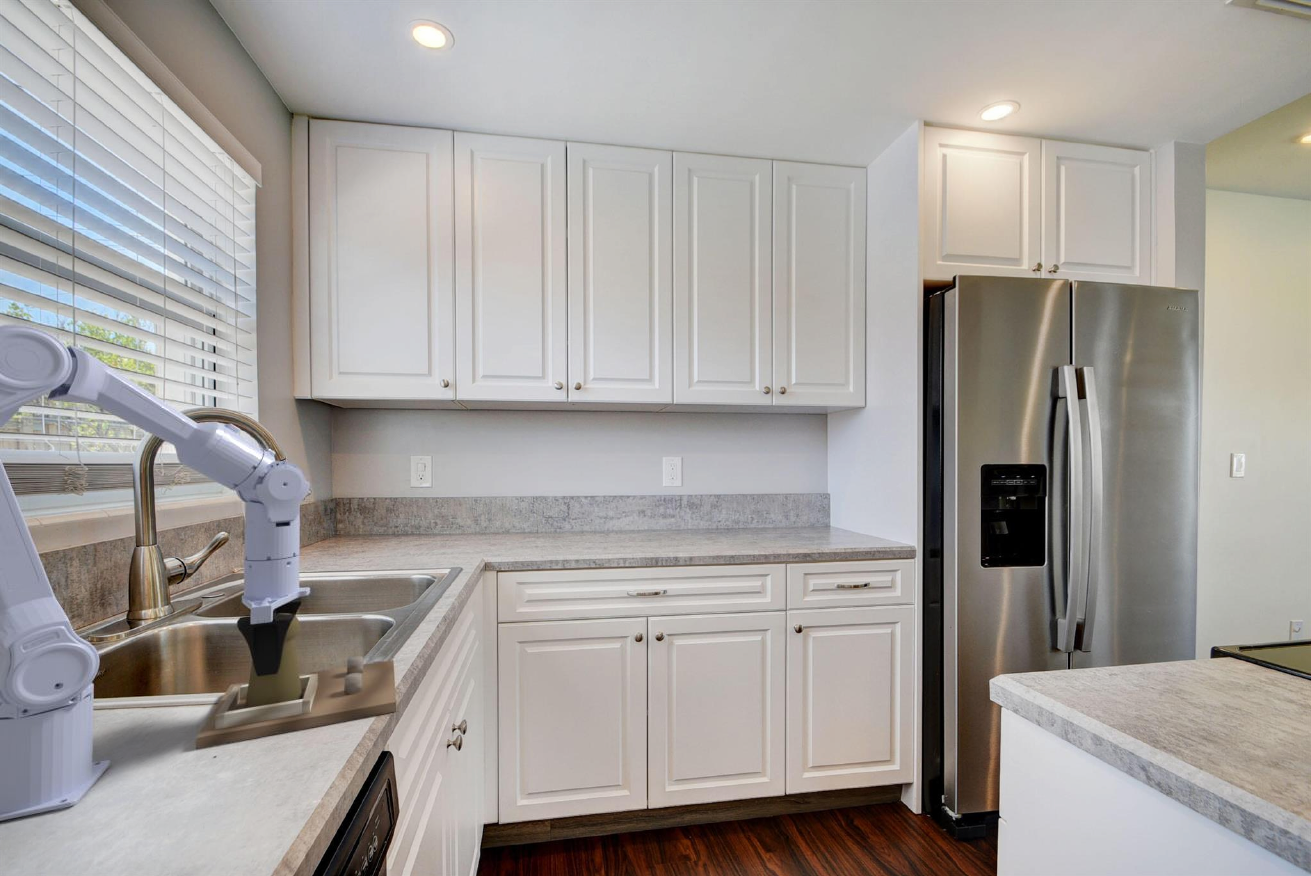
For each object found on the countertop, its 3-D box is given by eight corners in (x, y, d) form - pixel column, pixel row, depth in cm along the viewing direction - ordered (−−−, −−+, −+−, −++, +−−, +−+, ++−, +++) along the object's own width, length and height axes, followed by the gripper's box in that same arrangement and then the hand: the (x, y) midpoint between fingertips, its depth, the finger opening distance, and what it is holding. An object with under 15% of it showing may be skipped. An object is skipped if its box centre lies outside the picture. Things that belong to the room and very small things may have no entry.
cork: (235, 718, 67) (236, 624, 67) (255, 697, 73) (256, 611, 73) (294, 711, 69) (295, 619, 69) (308, 691, 74) (309, 606, 75)
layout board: (196, 748, 62) (196, 719, 62) (230, 693, 77) (230, 669, 77) (396, 711, 71) (396, 685, 71) (393, 667, 85) (393, 646, 85)
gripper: (302, 563, 66) (302, 681, 66) (315, 545, 79) (315, 643, 79) (228, 569, 63) (227, 693, 63) (254, 549, 76) (253, 651, 76)
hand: (271, 666), depth 70 cm, fingers closed on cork, 5 cm apart
